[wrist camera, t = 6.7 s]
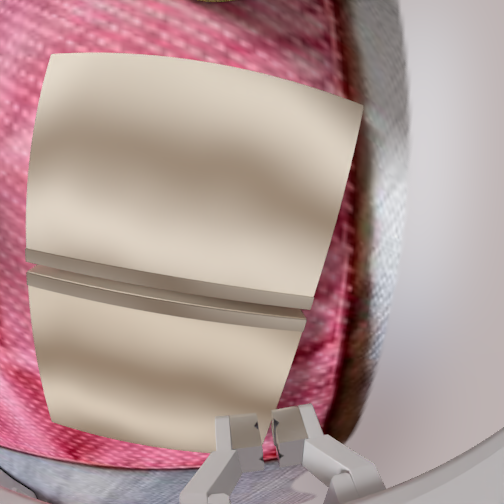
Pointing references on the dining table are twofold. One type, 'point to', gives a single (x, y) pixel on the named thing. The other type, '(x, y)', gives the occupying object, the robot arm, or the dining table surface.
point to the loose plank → (156, 358)
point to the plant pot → (215, 0)
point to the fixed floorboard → (187, 176)
